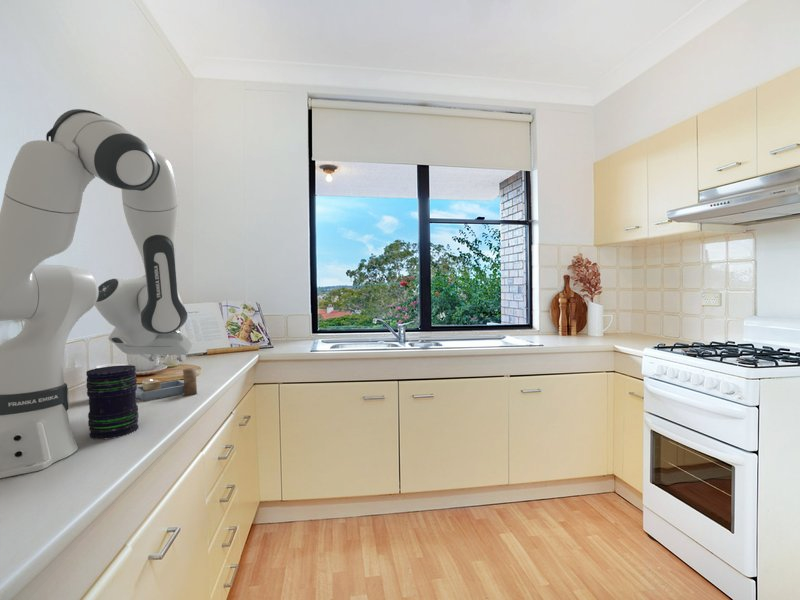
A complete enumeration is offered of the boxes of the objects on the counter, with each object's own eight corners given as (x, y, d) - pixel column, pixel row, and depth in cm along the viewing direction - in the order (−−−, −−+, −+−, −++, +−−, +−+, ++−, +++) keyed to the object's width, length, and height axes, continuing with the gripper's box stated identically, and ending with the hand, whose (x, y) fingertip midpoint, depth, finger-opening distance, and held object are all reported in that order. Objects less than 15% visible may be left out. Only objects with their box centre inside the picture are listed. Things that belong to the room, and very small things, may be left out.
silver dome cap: (144, 394, 134) (143, 381, 134) (141, 392, 136) (141, 380, 136) (155, 392, 136) (154, 379, 136) (152, 390, 139) (151, 378, 138)
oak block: (146, 397, 131) (146, 383, 130) (143, 394, 133) (142, 382, 133) (161, 394, 133) (160, 381, 133) (157, 392, 136) (156, 379, 136)
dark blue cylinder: (79, 441, 96) (76, 374, 95) (101, 427, 105) (98, 366, 105) (129, 437, 98) (125, 371, 97) (145, 423, 107) (142, 364, 107)
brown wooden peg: (186, 396, 133) (185, 370, 133) (182, 394, 136) (181, 369, 136) (198, 394, 136) (197, 369, 136) (194, 392, 139) (193, 367, 138)
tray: (142, 401, 129) (142, 392, 129) (133, 395, 136) (133, 387, 136) (190, 392, 138) (190, 384, 138) (179, 387, 146) (179, 379, 146)
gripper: (181, 320, 116) (205, 350, 126) (115, 321, 119) (143, 350, 129) (170, 339, 111) (196, 369, 121) (102, 339, 115) (132, 368, 125)
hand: (168, 359), depth 125 cm, fingers open, 8 cm apart
